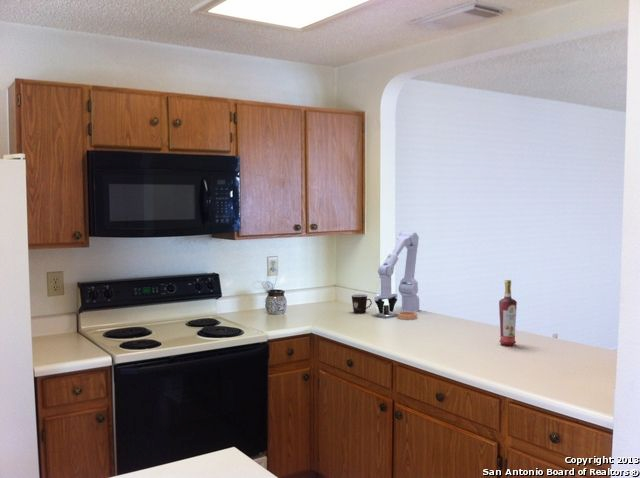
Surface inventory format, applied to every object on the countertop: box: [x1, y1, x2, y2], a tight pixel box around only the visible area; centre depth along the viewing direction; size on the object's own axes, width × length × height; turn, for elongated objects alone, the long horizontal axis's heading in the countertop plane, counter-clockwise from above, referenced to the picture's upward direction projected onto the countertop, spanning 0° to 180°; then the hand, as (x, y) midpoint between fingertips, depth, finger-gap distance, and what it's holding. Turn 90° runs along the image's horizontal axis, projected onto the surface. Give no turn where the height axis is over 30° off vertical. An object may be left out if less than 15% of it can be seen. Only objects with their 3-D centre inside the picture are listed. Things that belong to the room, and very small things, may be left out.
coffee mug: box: [351, 293, 373, 315], centre depth 343 cm, size 12×9×10 cm
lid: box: [376, 304, 396, 318], centre depth 335 cm, size 10×10×5 cm
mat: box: [370, 313, 397, 320], centre depth 335 cm, size 12×12×1 cm
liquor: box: [498, 279, 518, 347], centre depth 270 cm, size 7×7×28 cm
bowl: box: [396, 311, 418, 321], centre depth 327 cm, size 10×10×3 cm
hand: (386, 312), depth 335 cm, fingers open, 7 cm apart
